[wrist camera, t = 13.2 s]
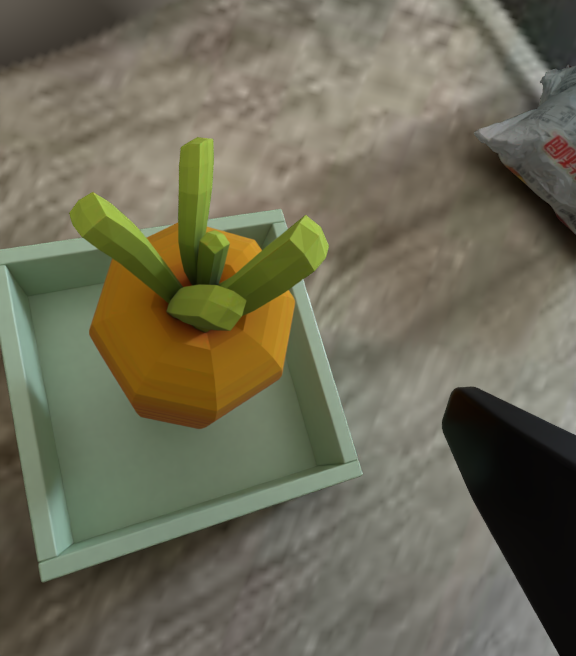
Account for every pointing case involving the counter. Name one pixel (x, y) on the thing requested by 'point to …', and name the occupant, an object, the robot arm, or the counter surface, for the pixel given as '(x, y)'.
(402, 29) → the counter surface
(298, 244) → the carrot
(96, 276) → the mint green tray
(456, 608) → the counter surface
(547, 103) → the packaged food
